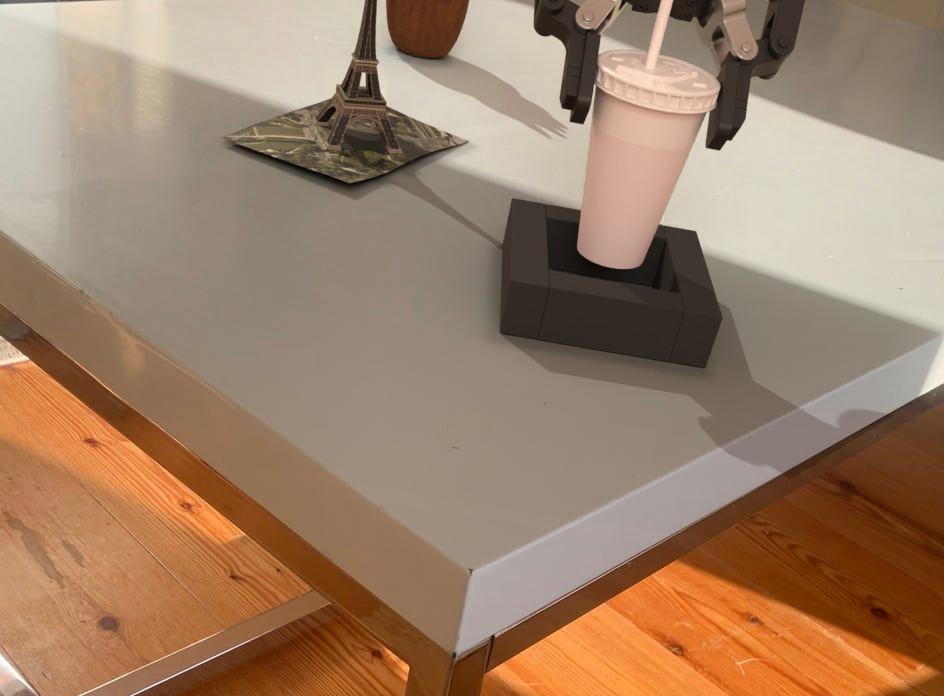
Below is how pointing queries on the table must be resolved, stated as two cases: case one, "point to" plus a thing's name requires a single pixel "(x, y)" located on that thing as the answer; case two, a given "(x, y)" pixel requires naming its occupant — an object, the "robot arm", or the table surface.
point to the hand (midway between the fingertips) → (649, 128)
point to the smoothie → (638, 146)
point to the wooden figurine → (425, 25)
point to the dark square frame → (606, 290)
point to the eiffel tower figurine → (348, 125)
